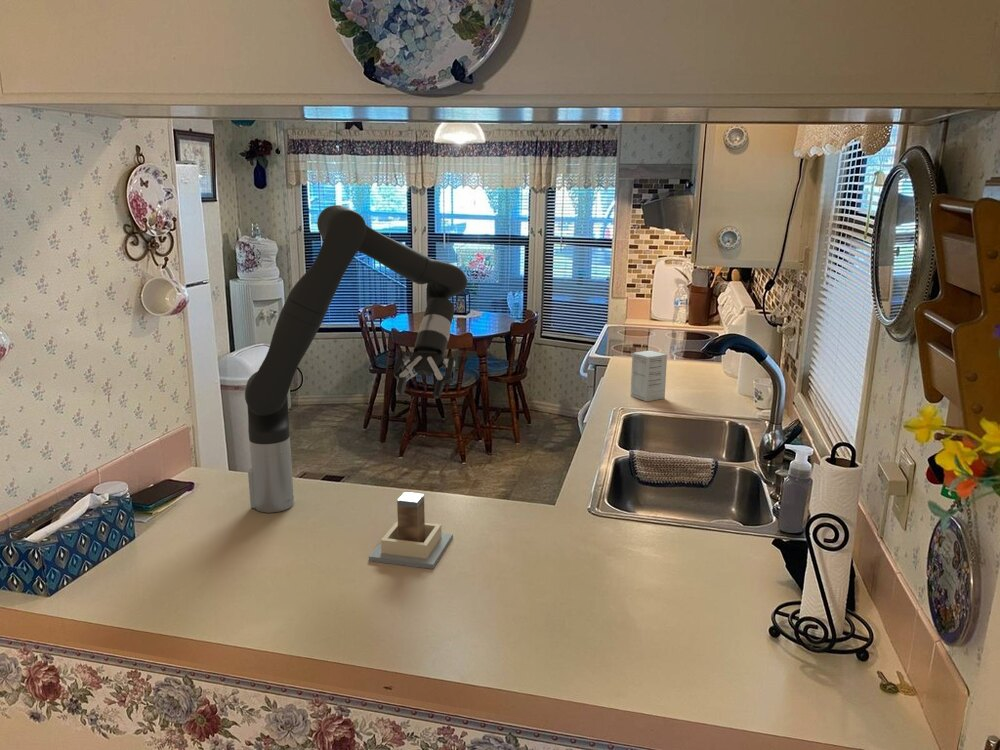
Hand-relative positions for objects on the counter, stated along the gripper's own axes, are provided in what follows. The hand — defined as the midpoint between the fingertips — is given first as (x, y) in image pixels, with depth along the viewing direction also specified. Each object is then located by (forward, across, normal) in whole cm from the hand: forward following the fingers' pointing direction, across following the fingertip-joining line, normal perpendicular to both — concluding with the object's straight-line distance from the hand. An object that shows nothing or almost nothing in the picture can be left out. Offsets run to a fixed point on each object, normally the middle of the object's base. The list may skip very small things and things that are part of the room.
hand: (417, 395), depth 169 cm
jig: (+34, +5, +6) cm, 35 cm away
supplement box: (-61, +50, +101) cm, 128 cm away
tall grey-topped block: (+33, +5, +6) cm, 34 cm away
